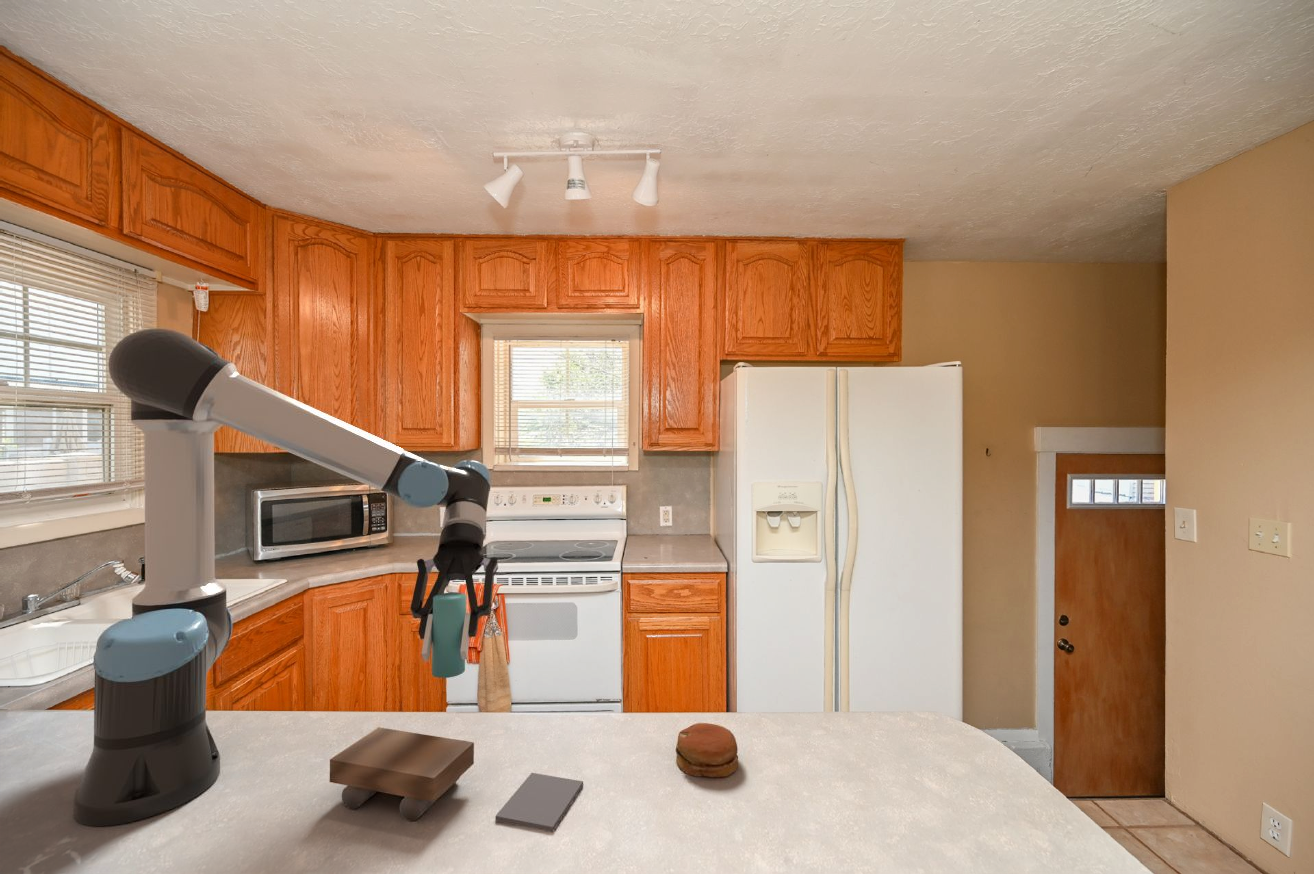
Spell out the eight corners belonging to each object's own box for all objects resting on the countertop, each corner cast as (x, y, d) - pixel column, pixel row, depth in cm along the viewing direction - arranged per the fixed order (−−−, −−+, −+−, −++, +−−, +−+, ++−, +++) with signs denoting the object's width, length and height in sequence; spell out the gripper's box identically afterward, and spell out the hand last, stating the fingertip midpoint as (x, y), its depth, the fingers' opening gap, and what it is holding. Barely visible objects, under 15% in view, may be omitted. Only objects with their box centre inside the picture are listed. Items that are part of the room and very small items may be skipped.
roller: (424, 675, 90) (426, 599, 90) (444, 664, 95) (445, 591, 95) (452, 679, 89) (454, 601, 89) (471, 667, 94) (472, 593, 94)
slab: (329, 804, 76) (329, 759, 77) (378, 767, 85) (378, 727, 85) (433, 825, 72) (433, 778, 72) (473, 784, 81) (473, 742, 81)
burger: (749, 774, 84) (748, 742, 84) (690, 786, 81) (689, 753, 82) (721, 741, 94) (720, 713, 94) (667, 751, 91) (667, 721, 91)
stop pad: (495, 820, 74) (495, 815, 74) (531, 776, 83) (531, 772, 83) (552, 831, 71) (552, 826, 72) (583, 785, 81) (583, 781, 81)
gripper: (514, 544, 109) (505, 664, 93) (414, 545, 106) (386, 670, 89) (512, 519, 104) (503, 642, 87) (407, 520, 101) (377, 648, 84)
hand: (444, 656), depth 88 cm, fingers closed on roller, 5 cm apart
